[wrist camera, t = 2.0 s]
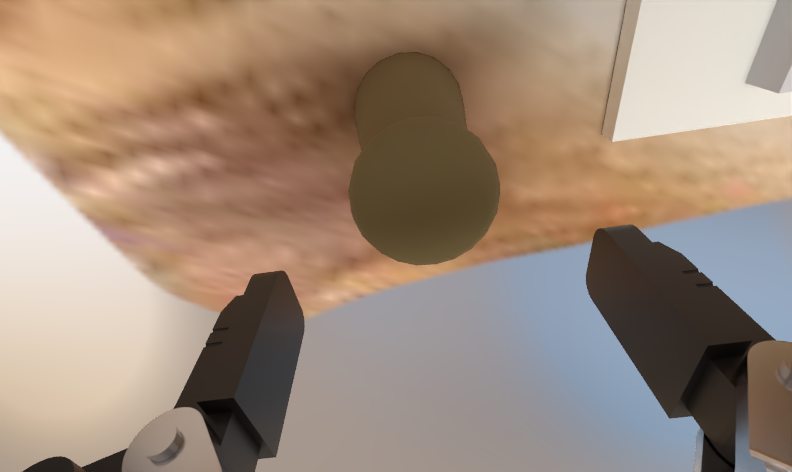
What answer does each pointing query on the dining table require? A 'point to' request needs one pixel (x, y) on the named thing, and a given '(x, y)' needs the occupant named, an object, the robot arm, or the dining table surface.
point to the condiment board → (699, 66)
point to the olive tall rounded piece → (419, 164)
